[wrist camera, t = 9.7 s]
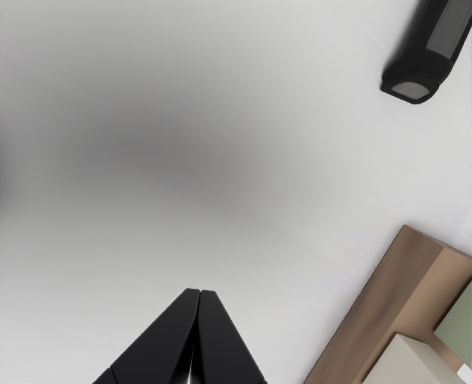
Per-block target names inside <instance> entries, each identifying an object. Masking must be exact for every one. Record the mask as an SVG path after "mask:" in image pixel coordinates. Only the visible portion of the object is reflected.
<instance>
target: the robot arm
mask: <svg viewBox="0 0 472 384" xmlns="http://www.w3.org/2000/svg"><path fill="white" fill-rule="evenodd" d="M192 353H193V354H192ZM191 361H192V362H191ZM190 368H191V371H190ZM189 374H190V384H268V383H267V381H266V380H264V376H263V375H262V373H261V371H260V369H259V368H258V366H257V364H256V362H255V361H254V359H253V357H252V355H251V354H250V352H249V350H248V348H247V347H246V345H245V343H244V341H243V340H242V338H241V336H240V334H239V333H238V331H237V329H236V327H235V325H234V324H233V322H232V320H231V318H230V317H229V315H228V313H227V311H226V310H225V308H224V306H223V304H222V303H221V301H220V299H219V297H218V296H217V294H216V292H215V291H209V290H202V291H201V293H200V290H199V289H190V288H187V289H185V290H184V291H183V292H182V293H181V294H180V295H179V296H178V297H177V298H176V299H175V300H174V302H173V303H172V304H171V305H170V306H169V307H168V308H167V309H166V310H165V311H164V312H163V313H162V314H161V315H160V316H159V317H158V318H157V319H156V320H155V321H154V322H153V323H152V324H151V325H150V326H149V327H148V328H147V329H146V330H145V331H144V332H143V333H142V334H141V335H140V336H139V337H138V338H137V339H136V340H135V341H134V342H133V343H132V344H131V345H130V346H129V347H128V348H127V349H126V350H125V351H124V352H123V353H122V354H121V355H120V356H119V357H118V358H117V359H116V360H115V361H114V362H113V364H112V365H111V366H110V368H107V369H106V370H105V371H104V372H103V373H102V374H101V376H100V377H99V378H98V379H97V380H96V381H95V382H94V383H92V384H187V383H188V379H189Z"/></svg>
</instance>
